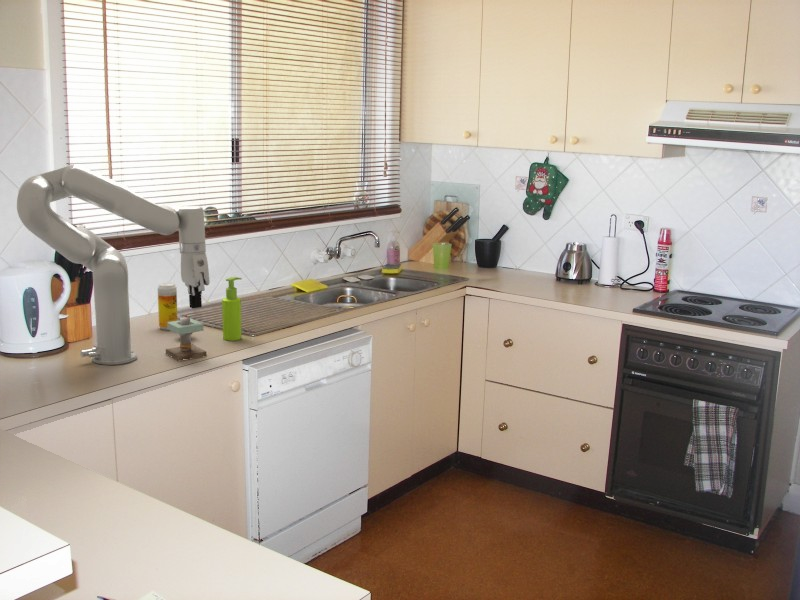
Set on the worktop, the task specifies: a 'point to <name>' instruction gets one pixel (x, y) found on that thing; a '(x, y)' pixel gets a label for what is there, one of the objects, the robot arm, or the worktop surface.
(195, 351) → the post stand
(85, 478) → the worktop surface
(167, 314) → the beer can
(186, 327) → the collar
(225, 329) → the soap dispenser
